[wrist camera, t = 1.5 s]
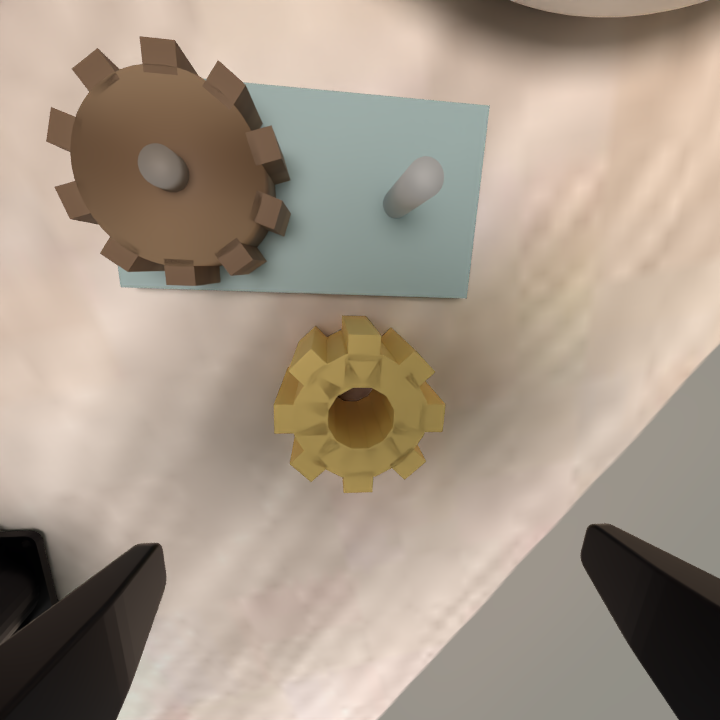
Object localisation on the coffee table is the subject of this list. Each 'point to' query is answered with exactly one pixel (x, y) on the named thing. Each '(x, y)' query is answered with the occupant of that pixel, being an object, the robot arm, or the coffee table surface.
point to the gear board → (365, 196)
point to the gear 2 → (357, 405)
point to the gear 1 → (171, 166)
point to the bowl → (607, 6)
